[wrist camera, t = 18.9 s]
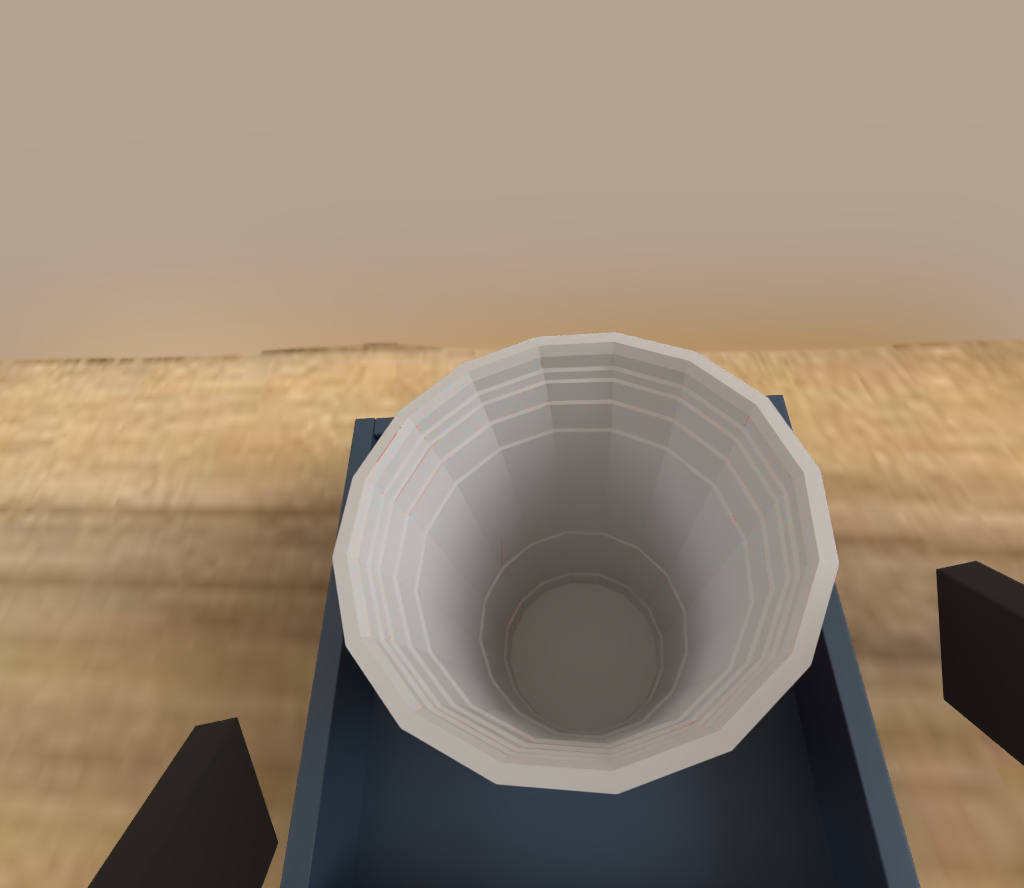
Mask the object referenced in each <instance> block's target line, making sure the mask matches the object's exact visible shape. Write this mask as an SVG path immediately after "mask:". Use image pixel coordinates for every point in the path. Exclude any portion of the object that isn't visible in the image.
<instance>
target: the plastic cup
mask: <svg viewBox="0 0 1024 888" xmlns="http://www.w3.org/2000/svg"><path fill="white" fill-rule="evenodd" d="M332 560H333V566H334V573H335V579H336V586H337V593H338V599H339V606H340V612H341V619H342V625H343V632H344V638H345V645H346V647H347V649H348V650H349V652H350V653H351V655H352V656H353V658H354V659H355V661H356V662H357V664H358V665H359V667H360V668H361V670H362V671H363V673H364V674H365V676H366V677H367V679H368V680H369V682H370V683H371V685H372V686H373V688H374V689H375V691H376V692H377V694H378V695H379V697H380V698H381V700H382V701H383V703H384V704H385V705H386V707H387V708H388V710H389V711H390V713H391V714H392V716H393V717H394V719H395V720H396V722H397V723H398V725H399V726H400V728H401V729H403V730H405V731H406V732H408V733H410V734H412V735H413V736H415V737H417V738H418V739H420V740H422V741H423V742H425V743H427V744H429V745H430V746H432V747H434V748H435V749H437V750H439V751H441V752H442V753H444V754H446V755H447V756H449V757H451V758H452V759H454V760H456V761H458V762H459V763H461V764H463V765H464V766H466V767H468V768H470V769H471V770H473V771H475V772H476V773H478V774H480V775H481V776H483V777H485V778H487V779H488V780H490V781H492V782H493V783H495V784H500V785H512V786H524V787H536V788H548V789H560V790H572V791H584V792H596V793H608V794H619V793H622V792H624V791H627V790H629V789H632V788H635V787H637V786H640V785H643V784H645V783H648V782H650V781H653V780H656V779H658V778H661V777H664V776H666V775H669V774H672V773H674V772H677V771H679V770H682V769H685V768H687V767H690V766H693V765H695V764H698V763H700V762H703V761H706V760H708V759H711V758H714V757H716V756H719V755H722V754H724V753H727V752H729V751H732V750H733V749H734V748H735V747H736V746H737V745H738V743H739V742H740V741H741V740H742V739H743V738H744V737H745V736H746V735H747V734H748V733H749V732H750V731H751V729H752V728H753V727H754V726H755V725H756V724H757V723H758V722H759V721H760V720H761V719H762V718H763V717H764V715H765V714H766V713H767V712H768V711H769V710H770V709H771V708H772V707H773V706H774V705H775V704H776V702H777V701H778V700H779V699H780V698H781V697H782V696H783V695H784V694H785V693H786V692H787V691H788V690H789V688H790V687H791V686H792V685H793V684H794V683H795V682H796V681H797V680H798V679H799V678H800V677H801V676H802V674H803V673H804V672H805V671H806V670H807V669H808V668H809V667H810V666H811V663H812V660H813V656H814V653H815V649H816V646H817V642H818V638H819V635H820V631H821V628H822V624H823V620H824V617H825V613H826V610H827V606H828V602H829V599H830V595H831V592H832V588H833V585H834V581H835V577H836V574H837V570H838V567H839V560H838V555H837V550H836V545H835V540H834V535H833V530H832V525H831V520H830V515H829V510H828V505H827V500H826V495H825V490H824V485H823V480H822V475H821V470H820V469H819V467H818V466H817V465H816V463H815V462H814V460H813V459H812V458H811V456H810V455H809V454H808V452H807V451H806V449H805V448H804V447H803V445H802V444H801V443H800V441H799V440H798V438H797V437H796V436H795V434H794V433H793V431H792V430H791V429H790V427H789V426H788V425H787V423H786V422H785V420H784V419H783V418H782V416H781V415H780V413H779V412H778V411H777V409H776V408H775V407H774V405H773V404H772V402H771V401H770V400H769V398H768V397H766V396H764V395H763V394H761V393H760V392H758V391H757V390H755V389H754V388H752V387H750V386H749V385H747V384H746V383H744V382H743V381H741V380H740V379H738V378H736V377H735V376H733V375H732V374H730V373H729V372H727V371H726V370H724V369H722V368H721V367H719V366H718V365H716V364H715V363H713V362H711V361H710V360H708V359H707V358H705V357H704V356H702V355H701V354H699V353H697V352H695V351H691V350H686V349H683V348H678V347H674V346H670V345H666V344H662V343H658V342H654V341H650V340H646V339H642V338H638V337H634V336H629V335H626V334H622V333H618V332H613V333H595V334H578V335H560V336H543V337H535V338H532V339H529V340H527V341H524V342H521V343H518V344H516V345H513V346H510V347H507V348H504V349H502V350H499V351H496V352H493V353H491V354H488V355H485V356H482V357H479V358H477V359H474V360H471V361H468V362H466V363H463V364H461V365H460V366H459V367H457V368H456V369H454V370H453V371H452V372H450V373H449V374H448V375H446V376H445V377H444V378H442V379H441V380H440V381H438V382H437V383H436V384H434V385H433V386H432V387H430V388H429V389H428V390H426V391H425V392H424V393H422V394H421V395H420V396H418V397H417V398H416V399H414V400H413V401H412V402H410V403H409V404H408V405H406V406H405V407H404V408H402V409H401V410H400V411H399V412H398V413H397V414H396V416H395V417H394V419H393V420H392V422H391V423H390V424H389V426H388V427H387V429H386V430H385V432H384V433H383V435H382V436H381V437H380V439H379V440H378V442H377V443H376V445H375V446H374V447H373V449H372V450H371V452H370V453H369V455H368V456H367V457H366V459H365V460H364V462H363V463H362V465H361V466H360V467H359V469H358V470H357V472H356V473H355V475H354V476H353V479H352V482H351V486H350V490H349V494H348V498H347V502H346V506H345V510H344V514H343V517H342V521H341V525H340V529H339V533H338V537H337V541H336V545H335V549H334V552H333V556H332Z"/></svg>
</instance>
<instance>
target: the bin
mask: <svg viewBox="0 0 1024 888" xmlns="http://www.w3.org/2000/svg"><path fill="white" fill-rule="evenodd" d="M766 397H768V398H769V400H770V401H771V402H772V404H773V405H774V407H775V408H776V409H777V411H778V412H779V413H780V415H781V416H782V418H783V419H784V420H785V422H786V423H787V425H788V426H789V427H790V429H791V430H792V427H791V423H790V420H789V416H788V413H787V409H786V405H785V402H784V398H783V395H770V396H766ZM393 419H394V417H391V418H377V419H376V420H375V418H366V419H356V421H355V427H354V433H353V439H352V445H351V452H350V458H349V464H348V470H347V476H346V483H345V489H344V495H343V501H342V507H341V514H340V520H339V526H338V532H337V537H338V533H339V529H340V525H341V521H342V517H343V514H344V510H345V506H346V502H347V498H348V494H349V490H350V486H351V482H352V479H353V476H354V475H355V473H356V472H357V470H358V469H359V467H360V466H361V465H362V463H363V462H364V460H365V459H366V457H367V456H368V455H369V453H370V452H371V450H372V449H373V447H374V446H375V445H376V443H377V442H378V440H379V439H380V437H381V436H382V435H383V433H384V432H385V430H386V429H387V427H388V426H389V424H390V423H391V422H392V420H393ZM792 431H793V430H792ZM336 541H337V538H336ZM280 888H920V884H919V881H918V877H917V874H916V870H915V867H914V863H913V859H912V856H911V852H910V849H909V845H908V842H907V838H906V834H905V831H904V827H903V824H902V820H901V817H900V813H899V809H898V806H897V802H896V799H895V795H894V791H893V788H892V784H891V781H890V777H889V774H888V770H887V766H886V763H885V759H884V756H883V752H882V749H881V745H880V741H879V738H878V734H877V731H876V727H875V724H874V720H873V716H872V713H871V709H870V706H869V702H868V699H867V695H866V691H865V688H864V684H863V681H862V677H861V674H860V670H859V666H858V663H857V659H856V656H855V652H854V649H853V645H852V641H851V638H850V634H849V631H848V627H847V623H846V620H845V616H844V613H843V609H842V606H841V602H840V598H839V595H838V591H837V588H836V584H835V581H834V585H833V588H832V592H831V595H830V599H829V602H828V606H827V610H826V613H825V617H824V620H823V624H822V628H821V631H820V635H819V638H818V642H817V646H816V649H815V653H814V656H813V660H812V663H811V666H810V667H809V668H808V669H807V670H806V671H805V672H804V673H803V674H802V676H801V677H800V678H799V679H798V680H797V681H796V682H795V683H794V684H793V685H792V686H791V687H790V688H789V690H788V691H787V692H786V693H785V694H784V695H783V696H782V697H781V698H780V699H779V700H778V701H777V702H776V704H775V705H774V706H773V707H772V708H771V709H770V710H769V711H768V712H767V713H766V714H765V715H764V717H763V718H762V719H761V720H760V721H759V722H758V723H757V724H756V725H755V726H754V727H753V728H752V729H751V731H750V732H749V733H748V734H747V735H746V736H745V737H744V738H743V739H742V740H741V741H740V742H739V743H738V745H737V746H736V747H735V748H734V749H733V750H732V751H729V752H727V753H724V754H722V755H719V756H716V757H714V758H711V759H708V760H706V761H703V762H700V763H698V764H695V765H693V766H690V767H687V768H685V769H682V770H679V771H677V772H674V773H672V774H669V775H666V776H664V777H661V778H658V779H656V780H653V781H650V782H648V783H645V784H643V785H640V786H637V787H635V788H632V789H629V790H627V791H624V792H622V793H619V794H608V793H596V792H584V791H572V790H560V789H548V788H536V787H524V786H512V785H500V784H495V783H493V782H492V781H490V780H488V779H487V778H485V777H483V776H481V775H480V774H478V773H476V772H475V771H473V770H471V769H470V768H468V767H466V766H464V765H463V764H461V763H459V762H458V761H456V760H454V759H452V758H451V757H449V756H447V755H446V754H444V753H442V752H441V751H439V750H437V749H435V748H434V747H432V746H430V745H429V744H427V743H425V742H423V741H422V740H420V739H418V738H417V737H415V736H413V735H412V734H410V733H408V732H406V731H405V730H403V729H401V728H400V726H399V725H398V723H397V722H396V720H395V719H394V717H393V716H392V714H391V713H390V711H389V710H388V708H387V707H386V705H385V704H384V703H383V701H382V700H381V698H380V697H379V695H378V694H377V692H376V691H375V689H374V688H373V686H372V685H371V683H370V682H369V680H368V679H367V677H366V676H365V674H364V673H363V671H362V670H361V668H360V667H359V665H358V664H357V662H356V661H355V659H354V658H353V656H352V655H351V653H350V652H349V650H348V649H347V647H346V645H345V638H344V632H343V625H342V619H341V612H340V606H339V599H338V593H337V586H336V579H335V573H334V566H333V563H332V569H331V576H330V582H329V588H328V594H327V600H326V607H325V613H324V619H323V625H322V631H321V638H320V644H319V650H318V656H317V662H316V669H315V675H314V681H313V687H312V693H311V700H310V706H309V712H308V718H307V724H306V731H305V737H304V743H303V749H302V755H301V762H300V768H299V774H298V780H297V786H296V793H295V799H294V805H293V811H292V817H291V824H290V830H289V836H288V842H287V848H286V855H285V861H284V867H283V873H282V879H281V886H280Z"/></svg>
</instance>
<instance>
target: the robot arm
mask: <svg viewBox="0 0 1024 888" xmlns="http://www.w3.org/2000/svg"><path fill="white" fill-rule="evenodd" d="M936 574H937V592H938V609H939V626H940V644H941V661H942V678H943V696H944V700H945V701H946V702H947V703H949V704H950V705H951V706H952V707H954V708H955V709H956V710H957V711H958V712H960V713H961V714H962V715H963V716H964V717H966V718H967V719H968V720H969V721H970V722H972V723H973V724H974V725H975V726H976V727H978V728H979V729H980V730H981V731H983V732H984V733H985V734H986V735H987V736H989V737H990V738H991V739H992V740H993V741H995V742H996V743H997V744H998V745H999V746H1001V747H1002V748H1003V749H1004V750H1005V751H1007V752H1008V753H1009V754H1010V755H1011V756H1013V757H1014V758H1015V759H1016V760H1018V761H1019V762H1020V763H1021V764H1022V765H1024V585H1023V584H1021V583H1019V582H1017V581H1015V580H1013V579H1011V578H1009V577H1007V576H1005V575H1003V574H1001V573H999V572H997V571H995V570H993V569H991V568H989V567H987V566H985V565H983V564H981V563H979V562H977V561H974V562H969V563H964V564H959V565H955V566H950V567H945V568H940V569H936ZM277 845H278V840H277V837H276V834H275V831H274V828H273V825H272V822H271V819H270V816H269V813H268V810H267V807H266V804H265V801H264V798H263V795H262V792H261V788H260V785H259V782H258V779H257V776H256V773H255V770H254V767H253V764H252V761H251V758H250V755H249V752H248V749H247V746H246V743H245V740H244V737H243V734H242V731H241V728H240V725H239V721H238V718H237V717H236V718H231V719H227V720H222V721H217V722H213V723H208V724H203V725H198V726H195V728H194V729H193V731H192V732H191V734H190V735H189V737H188V738H187V740H186V741H185V743H184V744H183V746H182V747H181V749H180V750H179V752H178V753H177V755H176V756H175V758H174V759H173V761H172V762H171V764H170V765H169V767H168V768H167V770H166V771H165V772H164V774H163V775H162V777H161V778H160V780H159V781H158V783H157V784H156V786H155V787H154V789H153V790H152V792H151V793H150V795H149V796H148V798H147V799H146V801H145V802H144V804H143V805H142V807H141V808H140V810H139V811H138V813H137V814H136V816H135V817H134V819H133V820H132V822H131V823H130V825H129V826H128V828H127V829H126V831H125V832H124V834H123V835H122V837H121V838H120V840H119V841H118V843H117V844H116V846H115V847H114V849H113V850H112V852H111V853H110V855H109V856H108V858H107V859H106V861H105V862H104V864H103V865H102V867H101V868H100V870H99V871H98V873H97V874H96V876H95V877H94V879H93V880H92V882H91V883H90V885H89V886H88V888H262V885H263V883H264V880H265V877H266V875H267V872H268V869H269V866H270V864H271V861H272V858H273V855H274V853H275V850H276V847H277Z"/></svg>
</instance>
